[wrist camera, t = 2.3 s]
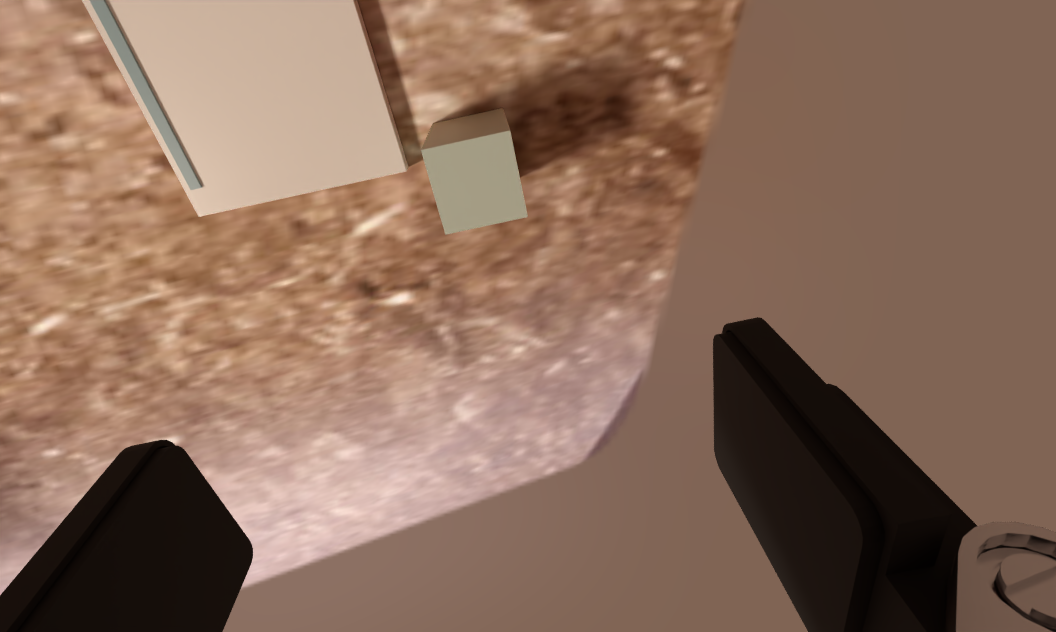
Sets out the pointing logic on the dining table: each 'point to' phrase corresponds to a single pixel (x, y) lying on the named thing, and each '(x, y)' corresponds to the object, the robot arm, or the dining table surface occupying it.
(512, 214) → the brick
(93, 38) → the dining table surface
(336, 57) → the pad
